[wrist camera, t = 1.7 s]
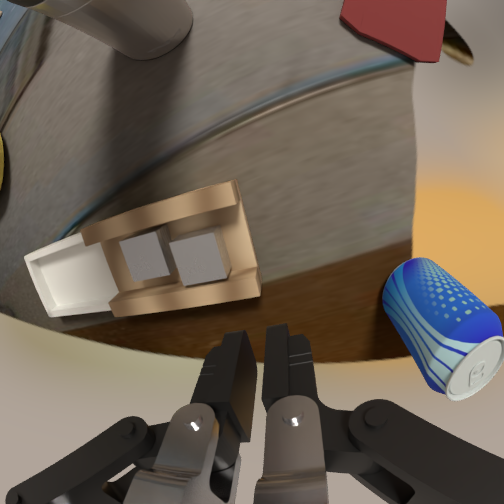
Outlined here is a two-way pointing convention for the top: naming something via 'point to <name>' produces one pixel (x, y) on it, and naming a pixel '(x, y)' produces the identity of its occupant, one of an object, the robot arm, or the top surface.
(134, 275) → the chip
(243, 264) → the slot board
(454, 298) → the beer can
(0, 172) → the vase
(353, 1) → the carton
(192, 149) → the top surface
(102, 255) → the tray
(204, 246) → the chip
